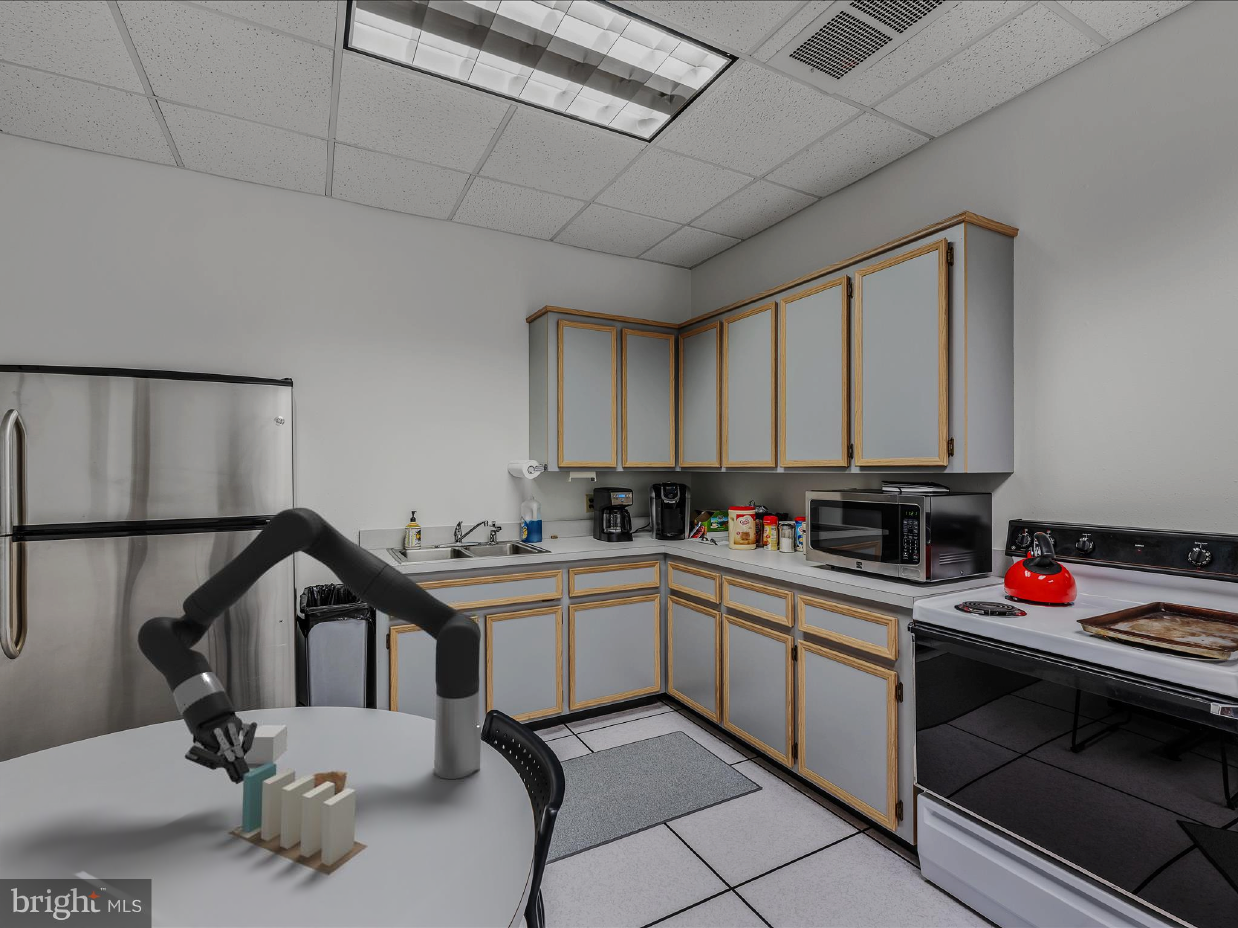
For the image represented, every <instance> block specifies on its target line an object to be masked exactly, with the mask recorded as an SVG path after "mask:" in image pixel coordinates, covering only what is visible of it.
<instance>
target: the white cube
mask: <svg viewBox="0 0 1238 928" xmlns="http://www.w3.org/2000/svg"><path fill="white" fill-rule="evenodd" d="M287 740H288V725H282V724H281V725H279V724H278V725H275V724H274V725H273V724H272V725H260V726H257V728H256V732H255V736H254V739H253V743H252V747H251V749H250V750H249V751H248V752H247V754H246V755H245V756H244V760H245V762H246V763H247V765H248V764H249V765H250V764H251V765H254V764H255V765H256V764H257V765H258V764H259V765H260V764H261V765H265V764H267V763H269V762H271V763H274V764H275V762H276V761H277V760H279V758H281V757H282V756H283V755H284V754H285V753H286V752H287V750H288V749H287V747H288V743H287V742H288V741H287ZM285 751H286V752H285ZM284 752H285V753H284ZM282 754H283V755H282Z"/></svg>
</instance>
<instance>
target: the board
mask: <svg viewBox="0 0 1238 928" xmlns="http://www.w3.org/2000/svg"><path fill="white" fill-rule="evenodd" d="M228 835H231V836H233V837H236V838H238V839H240V840H243V841H246V842H248V843H250V844H253V845H255V846H258V847H260V848H263V849H265V850H266V851H270V852H272V853H274V854H277V855H280V856H282V857H284V858H287V859H289V860H292V861H294V862H295V863H298V864H301V865H304V866H306V867H308V868H311V869H312V870H315V871H319V872H320V873H323V874H325V875H327V876H329V875H330V874H332V873H333V872H334V871H336V870H337V869H338V868H340V867H341V866H343V865H344V864H345V863H347V862H348V861H350V860H351V859H352V858H354V857H355V856H357V855H358V854H359V853H361V852H362V851H364V850H365V849H366V848H367V847H368V845H366V844H363V843H361V842H358V841H356V840H354V849H352V850H351V851H350V852H348V853H347V854H345V855H344V856H343V857H341V858H340V859H338V860H337V861H336V862H334V863H333V864H331V865H330V866H328V865H325V864H323V863H321V862H322V848H321V849H320V850H318V851H317V852H315V853H314V854H312V855H311V856H309V857H306V856H303V855H301V841H300V842H298V843H296V844H295V845H293V846H292V847H290V848H289V849H286V848H284V847H281V846H280V843H281V834H279V835H277V836H276V837H274V838H272V839H271V840H269V841H266V840H264V839H261V826H260V827H258V828H256V829H255V830H253V831H251V832H249V833H248V832H245V831H243V830H242V825H240V826H238V827H236V828H235V829H233V830H231V831H230V832H228Z"/></svg>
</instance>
